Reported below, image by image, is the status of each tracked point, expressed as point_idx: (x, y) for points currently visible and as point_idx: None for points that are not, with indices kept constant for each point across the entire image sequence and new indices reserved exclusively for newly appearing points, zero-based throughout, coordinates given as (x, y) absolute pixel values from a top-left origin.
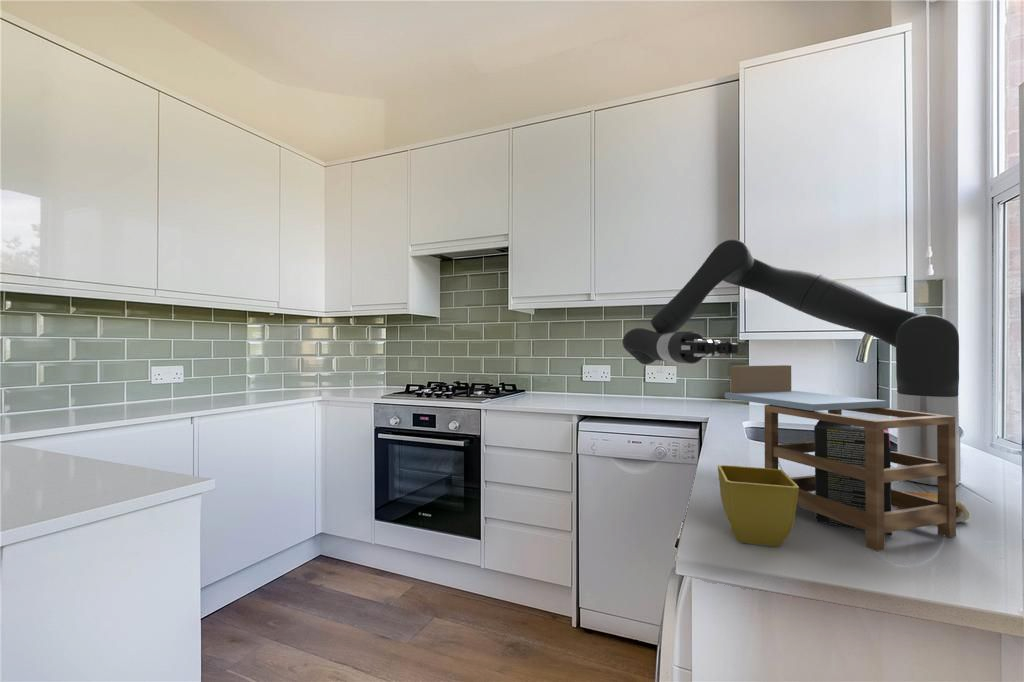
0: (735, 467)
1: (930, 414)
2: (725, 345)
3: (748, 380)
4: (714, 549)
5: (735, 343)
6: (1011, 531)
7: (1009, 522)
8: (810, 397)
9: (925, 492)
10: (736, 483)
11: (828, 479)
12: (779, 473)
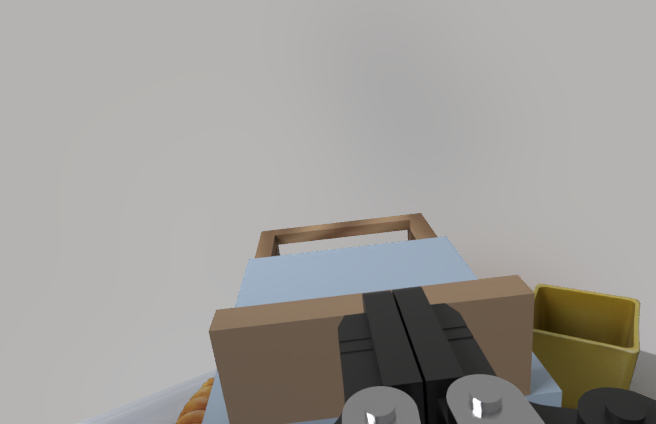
0: (602, 343)
1: (272, 239)
2: (460, 317)
3: None
4: (649, 377)
5: (378, 291)
6: (198, 377)
7: (154, 395)
8: (352, 291)
9: (199, 411)
10: (623, 297)
11: None
12: None
